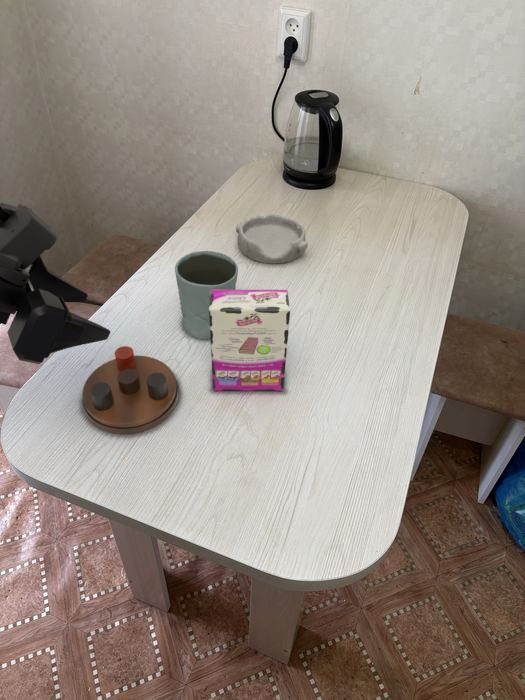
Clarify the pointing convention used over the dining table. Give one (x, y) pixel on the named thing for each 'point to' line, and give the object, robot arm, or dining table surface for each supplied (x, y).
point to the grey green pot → (202, 287)
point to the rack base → (137, 428)
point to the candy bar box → (248, 339)
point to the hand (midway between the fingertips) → (96, 315)
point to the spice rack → (129, 390)
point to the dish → (271, 238)
